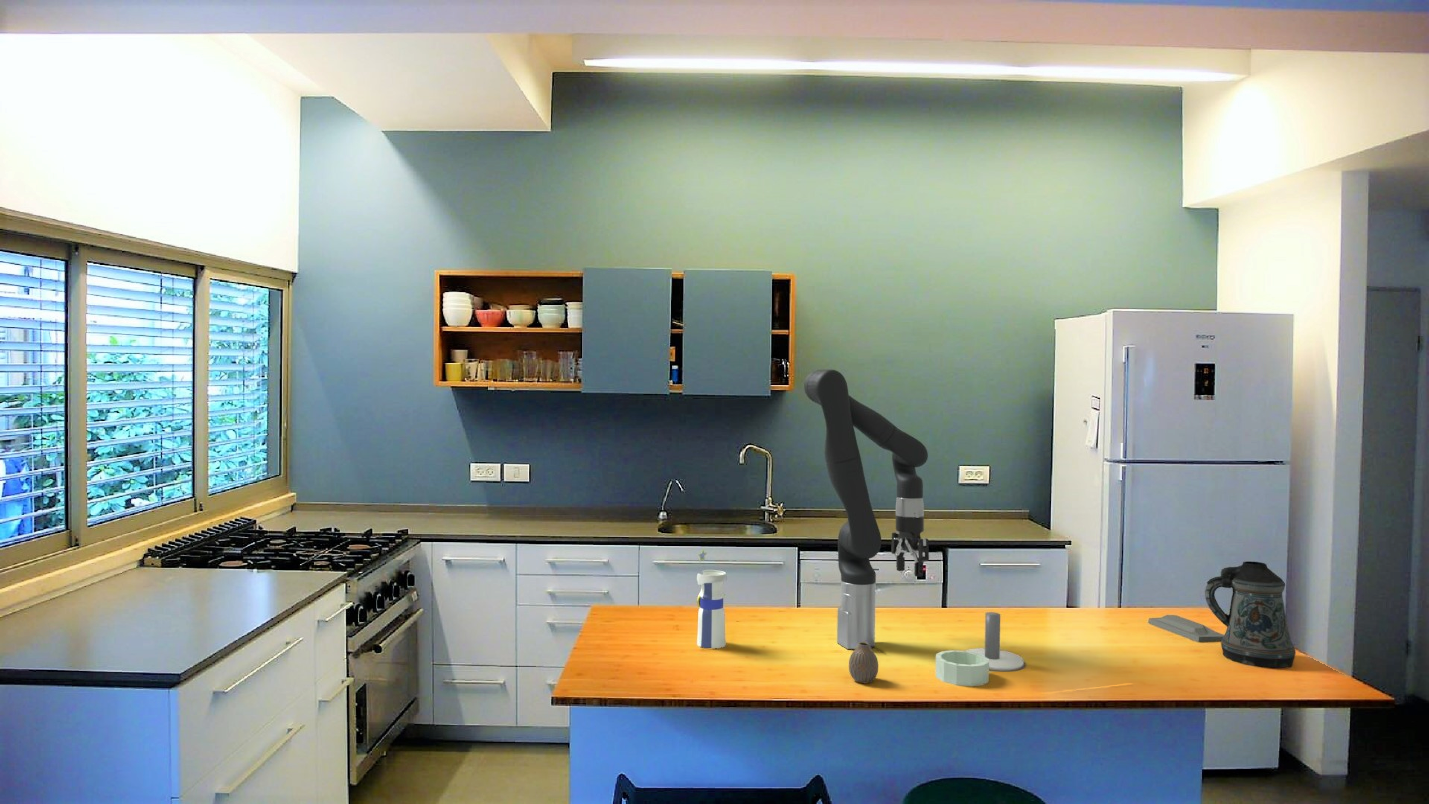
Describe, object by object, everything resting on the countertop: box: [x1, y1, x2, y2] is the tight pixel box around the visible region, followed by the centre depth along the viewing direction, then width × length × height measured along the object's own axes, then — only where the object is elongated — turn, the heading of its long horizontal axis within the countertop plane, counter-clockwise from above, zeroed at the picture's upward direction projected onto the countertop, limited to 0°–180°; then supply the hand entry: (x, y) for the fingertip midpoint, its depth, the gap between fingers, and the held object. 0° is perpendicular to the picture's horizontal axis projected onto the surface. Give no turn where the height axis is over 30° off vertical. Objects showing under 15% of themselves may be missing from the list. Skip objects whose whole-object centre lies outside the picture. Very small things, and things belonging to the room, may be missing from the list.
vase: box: [848, 642, 879, 684], centre depth 205 cm, size 7×7×9 cm
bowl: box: [935, 649, 990, 687], centre depth 207 cm, size 12×12×5 cm
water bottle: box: [696, 549, 728, 650], centre depth 231 cm, size 8×8×25 cm
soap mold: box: [1147, 614, 1225, 643], centre depth 251 cm, size 10×20×4 cm, turn 13°
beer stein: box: [1204, 561, 1297, 670], centre depth 225 cm, size 16×19×25 cm
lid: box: [965, 611, 1025, 672], centre depth 219 cm, size 15×15×12 cm
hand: (909, 573), depth 236 cm, fingers open, 8 cm apart
